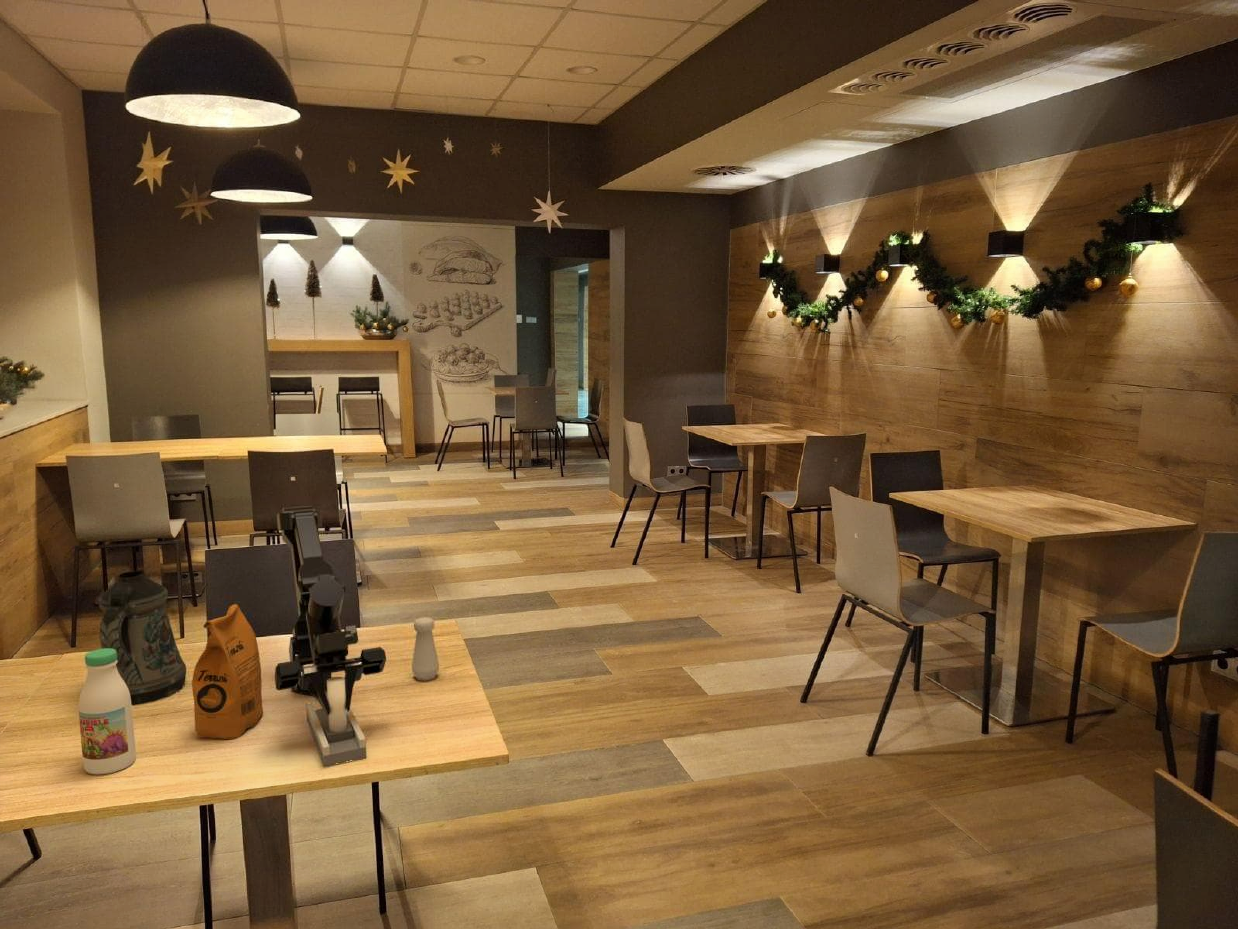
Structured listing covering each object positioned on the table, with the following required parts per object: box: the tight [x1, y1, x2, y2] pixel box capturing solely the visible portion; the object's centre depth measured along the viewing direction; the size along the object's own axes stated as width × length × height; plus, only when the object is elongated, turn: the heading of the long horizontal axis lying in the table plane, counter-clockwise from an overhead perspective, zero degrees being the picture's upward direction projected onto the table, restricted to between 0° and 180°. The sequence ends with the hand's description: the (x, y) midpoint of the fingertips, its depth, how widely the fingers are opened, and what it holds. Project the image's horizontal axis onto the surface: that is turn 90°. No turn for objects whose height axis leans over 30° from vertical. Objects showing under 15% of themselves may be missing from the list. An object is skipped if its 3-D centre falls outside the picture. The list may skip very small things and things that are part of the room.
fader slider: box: [323, 676, 353, 743], centre depth 151 cm, size 4×4×10 cm
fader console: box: [305, 702, 367, 768], centre depth 155 cm, size 20×7×4 cm, turn 28°
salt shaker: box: [411, 616, 440, 682], centre depth 183 cm, size 6×6×13 cm
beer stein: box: [97, 570, 187, 706], centre depth 174 cm, size 16×19×25 cm
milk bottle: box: [78, 648, 137, 775], centre depth 144 cm, size 8×8×20 cm
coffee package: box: [191, 604, 264, 740], centre depth 159 cm, size 10×12×22 cm
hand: (338, 712), depth 150 cm, fingers closed on fader slider, 3 cm apart
